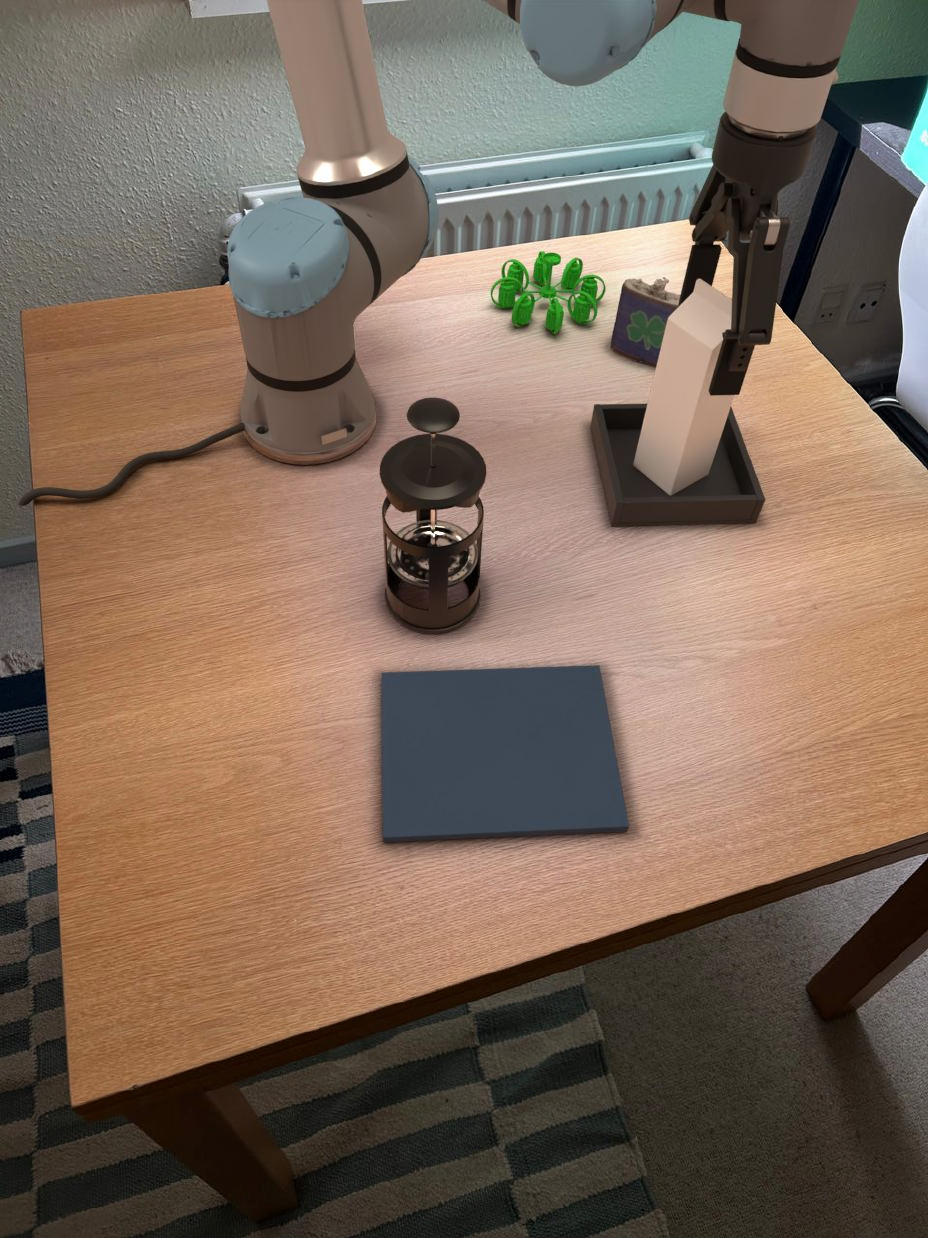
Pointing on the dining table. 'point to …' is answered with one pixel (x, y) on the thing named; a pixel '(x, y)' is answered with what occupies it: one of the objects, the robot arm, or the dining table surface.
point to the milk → (686, 394)
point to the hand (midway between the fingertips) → (707, 348)
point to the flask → (642, 319)
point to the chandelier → (548, 291)
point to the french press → (432, 519)
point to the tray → (643, 503)
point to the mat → (498, 754)
